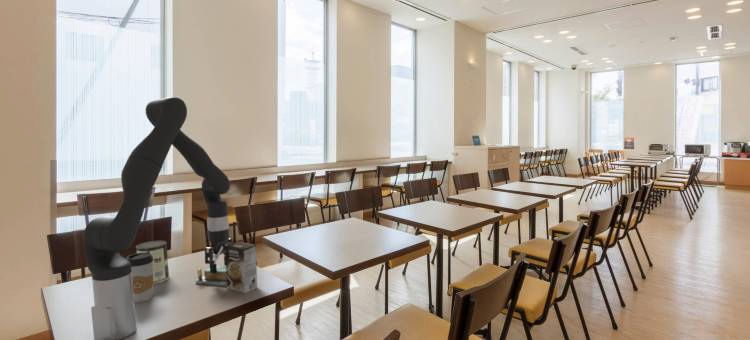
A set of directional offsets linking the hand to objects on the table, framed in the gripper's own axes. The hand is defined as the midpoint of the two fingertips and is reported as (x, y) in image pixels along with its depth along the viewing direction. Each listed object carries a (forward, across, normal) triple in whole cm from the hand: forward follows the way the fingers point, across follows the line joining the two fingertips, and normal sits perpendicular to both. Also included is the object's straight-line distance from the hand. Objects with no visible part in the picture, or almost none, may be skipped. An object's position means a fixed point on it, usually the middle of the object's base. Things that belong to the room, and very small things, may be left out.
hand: (220, 269), depth 150 cm
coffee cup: (+4, +20, -16) cm, 27 cm away
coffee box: (+4, +6, +12) cm, 14 cm away
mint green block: (+3, 0, 0) cm, 3 cm away
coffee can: (+4, +6, -26) cm, 26 cm away
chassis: (+4, 0, 0) cm, 4 cm away
